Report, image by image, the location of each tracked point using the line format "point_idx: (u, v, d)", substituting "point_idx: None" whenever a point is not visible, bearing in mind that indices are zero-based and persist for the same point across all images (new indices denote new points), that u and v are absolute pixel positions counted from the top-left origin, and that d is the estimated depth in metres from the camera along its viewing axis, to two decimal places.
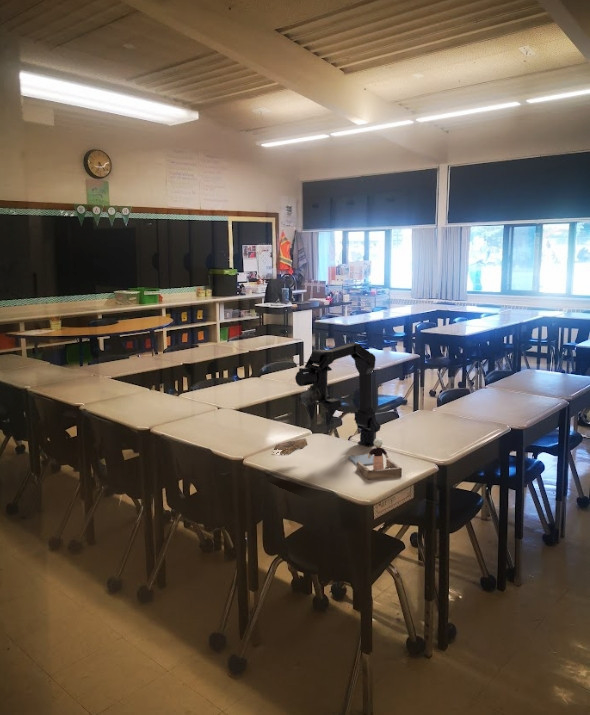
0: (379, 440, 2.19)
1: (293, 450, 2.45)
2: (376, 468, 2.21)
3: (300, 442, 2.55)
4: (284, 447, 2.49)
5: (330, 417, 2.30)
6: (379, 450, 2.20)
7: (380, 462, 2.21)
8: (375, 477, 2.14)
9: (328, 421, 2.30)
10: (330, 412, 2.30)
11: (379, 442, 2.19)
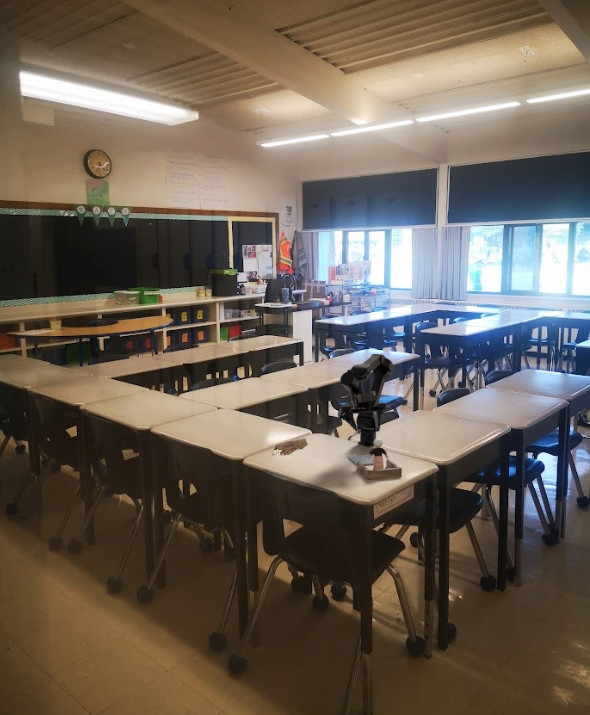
0: (379, 440, 2.19)
1: (293, 450, 2.45)
2: (376, 468, 2.21)
3: (300, 442, 2.55)
4: (284, 447, 2.49)
5: None
6: (379, 450, 2.20)
7: (380, 462, 2.21)
8: (375, 477, 2.14)
9: None
10: None
11: (379, 442, 2.19)
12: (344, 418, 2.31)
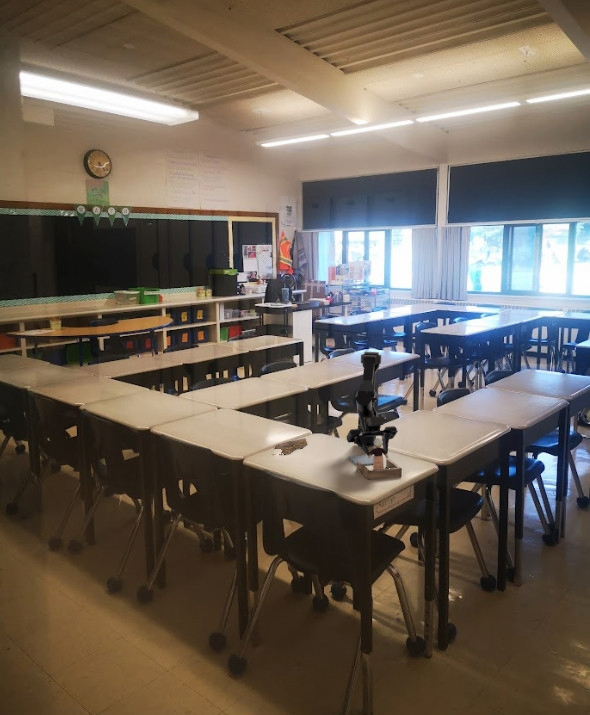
0: (379, 440, 2.19)
1: (293, 450, 2.45)
2: (376, 467, 2.21)
3: (300, 442, 2.55)
4: (284, 447, 2.49)
5: None
6: (379, 450, 2.20)
7: (380, 462, 2.21)
8: (375, 477, 2.14)
9: None
10: None
11: (379, 442, 2.19)
12: (356, 442, 2.24)
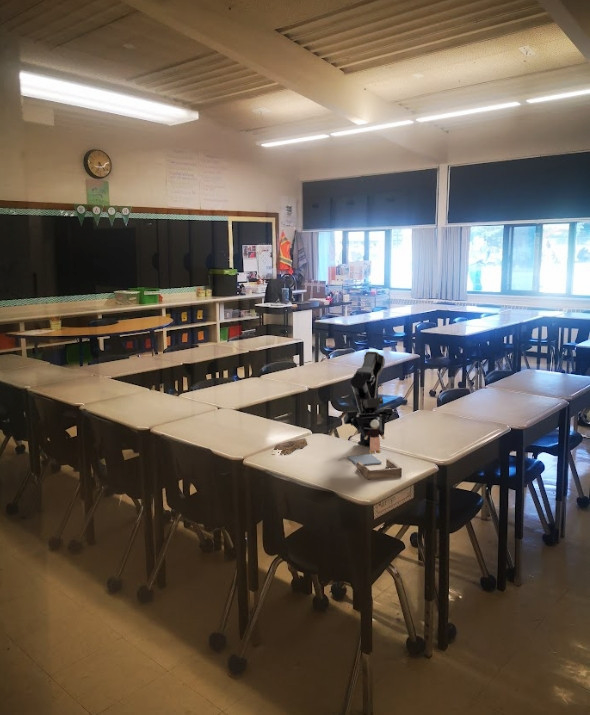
0: (376, 421, 2.22)
1: (293, 450, 2.45)
2: (373, 449, 2.24)
3: (300, 442, 2.55)
4: (284, 447, 2.49)
5: None
6: (376, 431, 2.23)
7: (377, 443, 2.24)
8: (375, 477, 2.14)
9: None
10: None
11: (376, 423, 2.22)
12: (352, 423, 2.27)
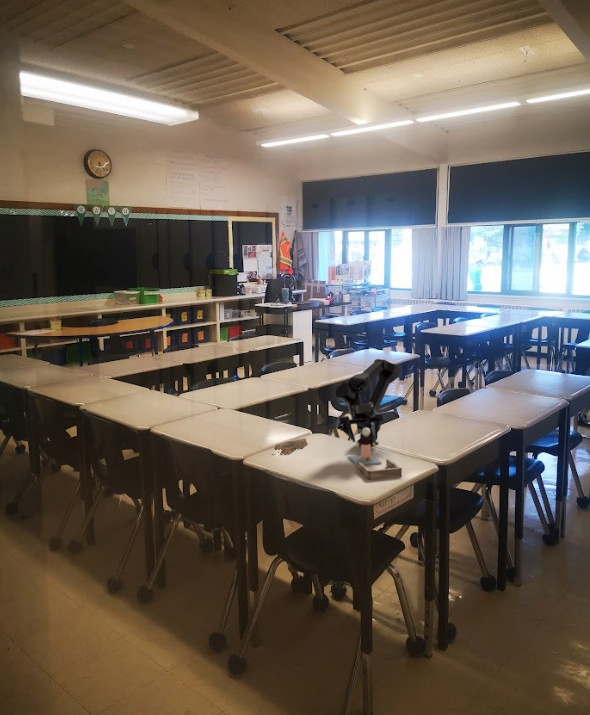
0: (367, 429, 2.31)
1: (293, 450, 2.45)
2: (364, 455, 2.32)
3: (300, 442, 2.55)
4: (284, 447, 2.49)
5: None
6: (367, 439, 2.31)
7: (368, 450, 2.32)
8: (375, 477, 2.14)
9: None
10: None
11: (367, 431, 2.30)
12: (342, 429, 2.35)
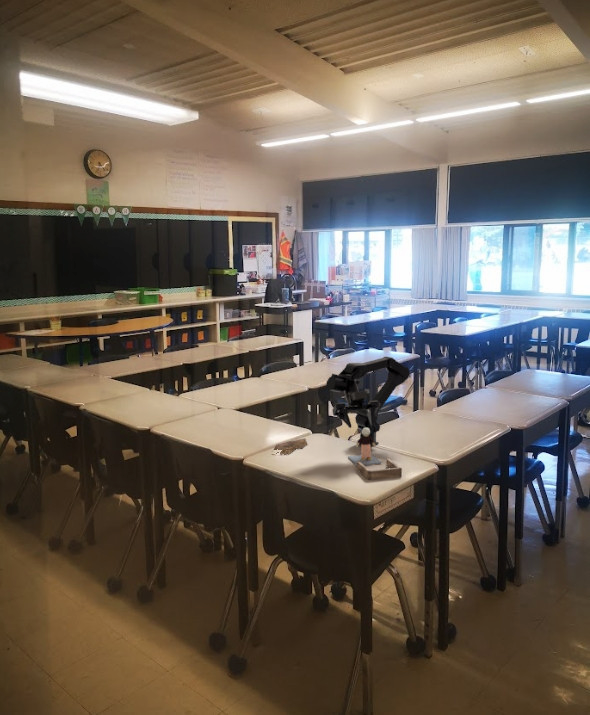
0: (367, 429, 2.31)
1: (293, 450, 2.45)
2: (364, 455, 2.32)
3: (300, 442, 2.55)
4: (284, 447, 2.49)
5: None
6: (367, 439, 2.31)
7: (368, 450, 2.32)
8: (375, 477, 2.14)
9: None
10: None
11: (367, 431, 2.30)
12: (338, 415, 2.38)
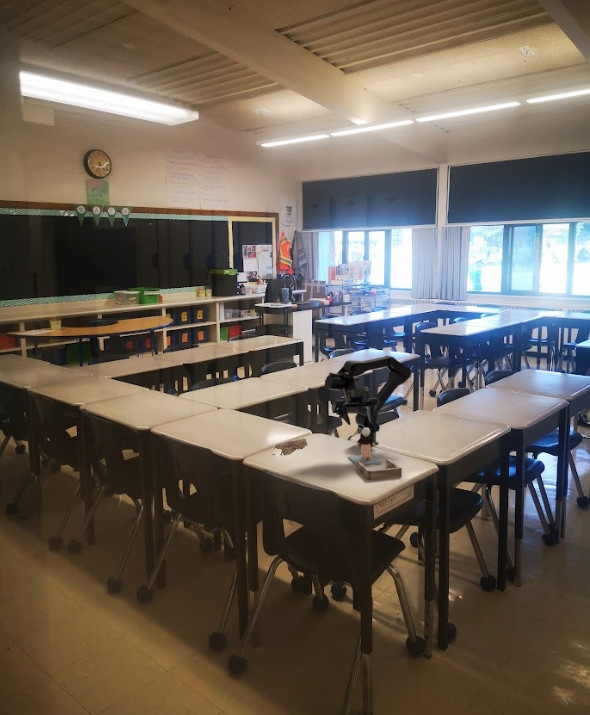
0: (367, 429, 2.31)
1: (293, 450, 2.45)
2: (364, 455, 2.32)
3: (300, 442, 2.55)
4: (284, 447, 2.49)
5: None
6: (367, 439, 2.31)
7: (368, 450, 2.32)
8: (375, 477, 2.14)
9: None
10: None
11: (367, 431, 2.30)
12: (338, 413, 2.39)
